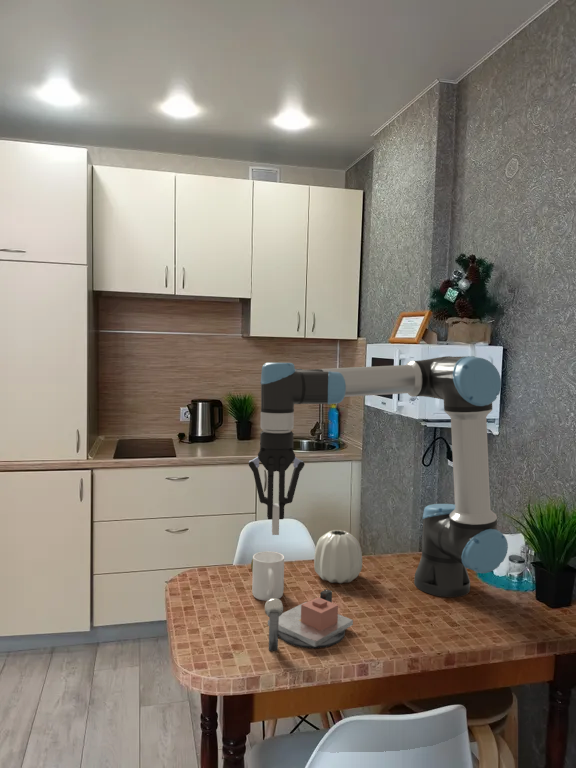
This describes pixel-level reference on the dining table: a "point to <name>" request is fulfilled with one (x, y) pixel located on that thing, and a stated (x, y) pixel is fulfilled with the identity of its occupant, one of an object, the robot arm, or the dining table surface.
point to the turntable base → (302, 644)
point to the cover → (319, 613)
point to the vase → (338, 557)
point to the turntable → (306, 633)
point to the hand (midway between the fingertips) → (275, 532)
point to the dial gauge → (273, 621)
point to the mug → (268, 575)
